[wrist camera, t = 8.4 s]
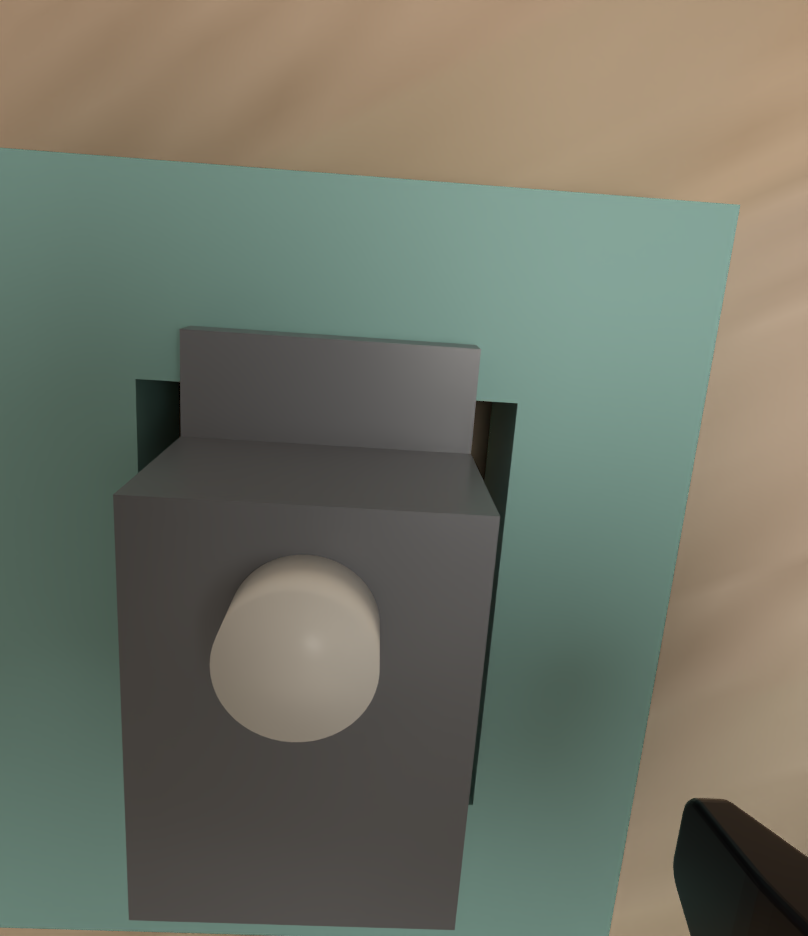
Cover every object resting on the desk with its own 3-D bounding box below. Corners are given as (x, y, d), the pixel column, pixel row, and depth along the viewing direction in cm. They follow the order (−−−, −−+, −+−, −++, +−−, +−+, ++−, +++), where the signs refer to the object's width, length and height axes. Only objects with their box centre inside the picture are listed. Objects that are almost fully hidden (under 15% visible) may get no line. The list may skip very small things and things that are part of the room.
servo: (422, 751, 16) (451, 1095, 10) (221, 743, 16) (106, 1089, 9) (459, 330, 14) (533, 394, 7) (223, 314, 14) (69, 364, 7)
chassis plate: (575, 849, 17) (607, 945, 15) (49, 830, 17) (-8, 926, 14) (675, 215, 13) (739, 205, 11) (1, 163, 13) (-86, 140, 10)
